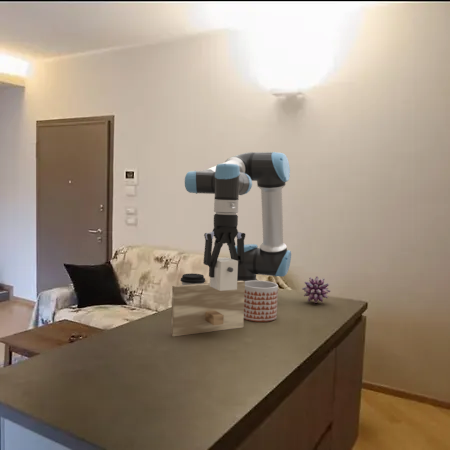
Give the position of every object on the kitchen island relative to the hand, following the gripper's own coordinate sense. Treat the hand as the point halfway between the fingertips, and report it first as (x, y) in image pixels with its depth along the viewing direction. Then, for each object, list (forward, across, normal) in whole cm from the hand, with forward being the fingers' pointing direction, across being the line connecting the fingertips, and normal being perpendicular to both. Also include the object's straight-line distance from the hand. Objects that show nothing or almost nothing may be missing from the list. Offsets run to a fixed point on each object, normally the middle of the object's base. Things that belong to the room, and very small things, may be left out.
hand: (223, 286), depth 144 cm
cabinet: (0, 0, 0) cm, 0 cm away
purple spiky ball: (+17, +60, +26) cm, 68 cm away
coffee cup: (+17, +3, +29) cm, 34 cm away
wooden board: (+17, 0, +6) cm, 18 cm away
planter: (+17, +25, +17) cm, 35 cm away
